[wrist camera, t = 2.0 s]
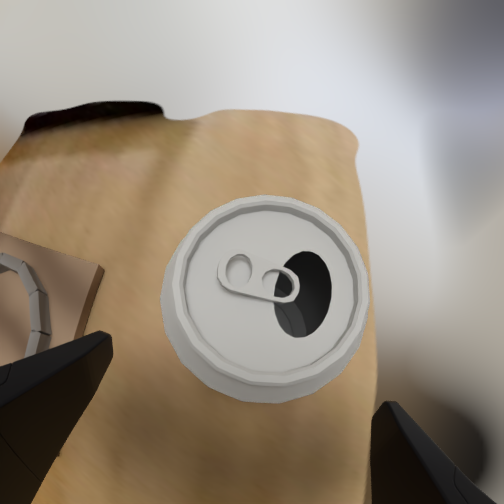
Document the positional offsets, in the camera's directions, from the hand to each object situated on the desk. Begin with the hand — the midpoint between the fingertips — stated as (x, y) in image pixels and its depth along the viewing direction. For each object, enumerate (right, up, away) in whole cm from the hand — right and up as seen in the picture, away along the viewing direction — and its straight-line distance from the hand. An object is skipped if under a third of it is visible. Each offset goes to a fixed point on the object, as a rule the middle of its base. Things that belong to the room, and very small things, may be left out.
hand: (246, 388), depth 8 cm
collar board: (-21, -3, +9) cm, 23 cm away
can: (0, -2, +11) cm, 12 cm away
